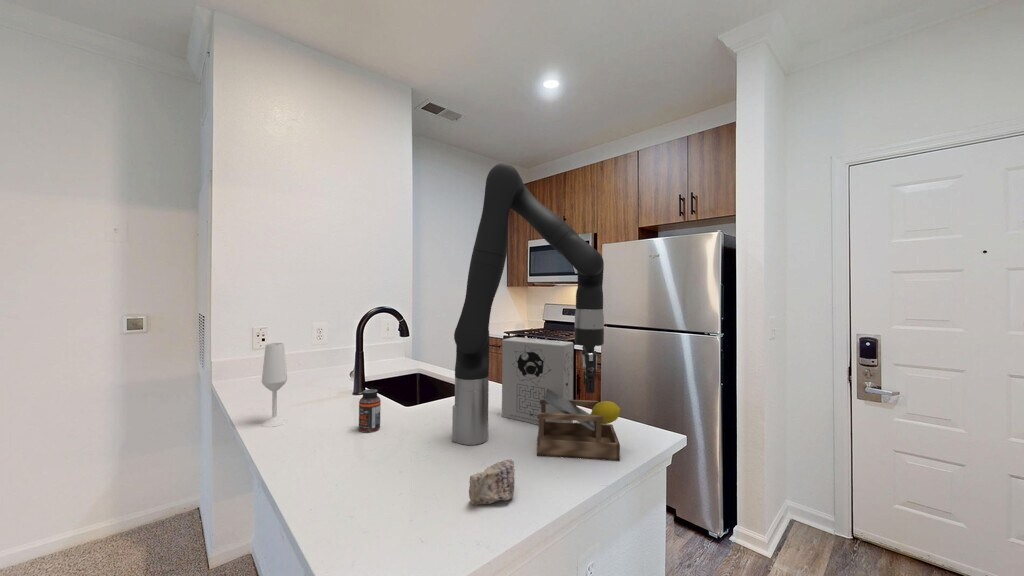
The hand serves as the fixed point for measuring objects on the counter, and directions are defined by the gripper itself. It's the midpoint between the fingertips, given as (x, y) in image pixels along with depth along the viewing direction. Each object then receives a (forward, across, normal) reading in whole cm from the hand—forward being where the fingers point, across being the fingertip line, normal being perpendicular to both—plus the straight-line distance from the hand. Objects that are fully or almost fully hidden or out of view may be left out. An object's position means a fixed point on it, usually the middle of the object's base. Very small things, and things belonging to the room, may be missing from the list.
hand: (588, 388), depth 103 cm
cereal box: (+16, +20, +15) cm, 29 cm away
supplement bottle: (+16, +4, +62) cm, 65 cm away
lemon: (+7, 0, 0) cm, 7 cm away
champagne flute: (+16, +6, +94) cm, 95 cm away
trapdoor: (+7, 0, +6) cm, 9 cm away
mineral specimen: (+16, -26, +20) cm, 37 cm away
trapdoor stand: (+15, 0, +3) cm, 16 cm away
